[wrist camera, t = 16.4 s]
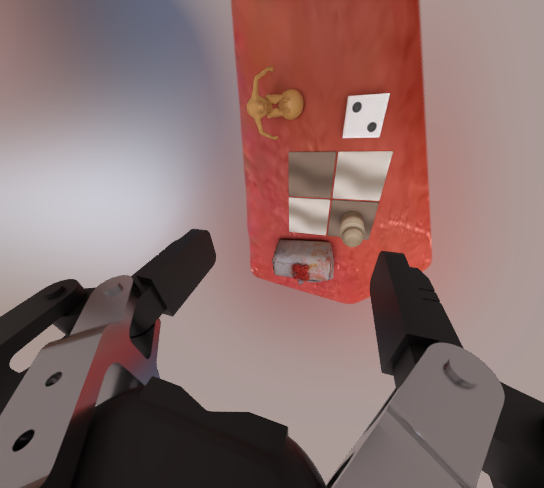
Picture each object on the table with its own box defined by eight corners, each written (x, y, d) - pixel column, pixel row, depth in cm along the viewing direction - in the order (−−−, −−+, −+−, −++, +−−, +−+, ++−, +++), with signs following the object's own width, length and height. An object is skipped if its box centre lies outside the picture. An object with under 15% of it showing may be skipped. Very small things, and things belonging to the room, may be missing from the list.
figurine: (305, 132, 34) (291, 143, 25) (272, 134, 36) (248, 145, 26) (305, 69, 29) (288, 54, 20) (268, 75, 31) (236, 64, 22)
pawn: (341, 210, 40) (341, 230, 33) (364, 211, 39) (368, 233, 32) (339, 229, 42) (338, 251, 36) (361, 230, 41) (364, 254, 35)
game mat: (288, 152, 37) (288, 152, 36) (392, 151, 32) (393, 151, 32) (289, 231, 47) (289, 231, 47) (368, 239, 42) (368, 239, 42)
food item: (335, 237, 44) (333, 265, 37) (334, 264, 49) (332, 294, 41) (278, 235, 48) (266, 260, 41) (281, 259, 53) (271, 286, 45)
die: (347, 97, 30) (348, 96, 26) (383, 94, 28) (390, 93, 25) (342, 134, 33) (342, 138, 29) (374, 133, 31) (379, 137, 27)
